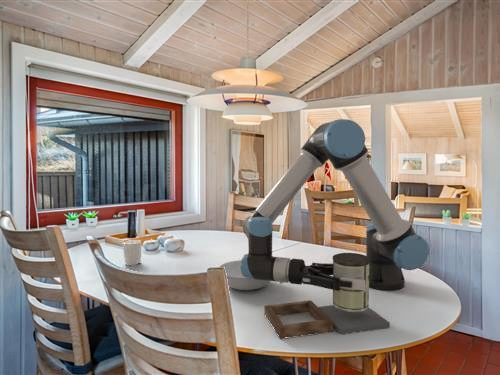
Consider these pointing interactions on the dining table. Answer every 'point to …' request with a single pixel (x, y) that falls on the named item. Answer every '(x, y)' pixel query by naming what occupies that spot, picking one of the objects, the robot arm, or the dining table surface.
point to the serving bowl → (241, 277)
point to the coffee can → (356, 269)
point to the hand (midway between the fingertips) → (366, 278)
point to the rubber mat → (354, 320)
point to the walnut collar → (298, 328)
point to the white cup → (132, 251)
